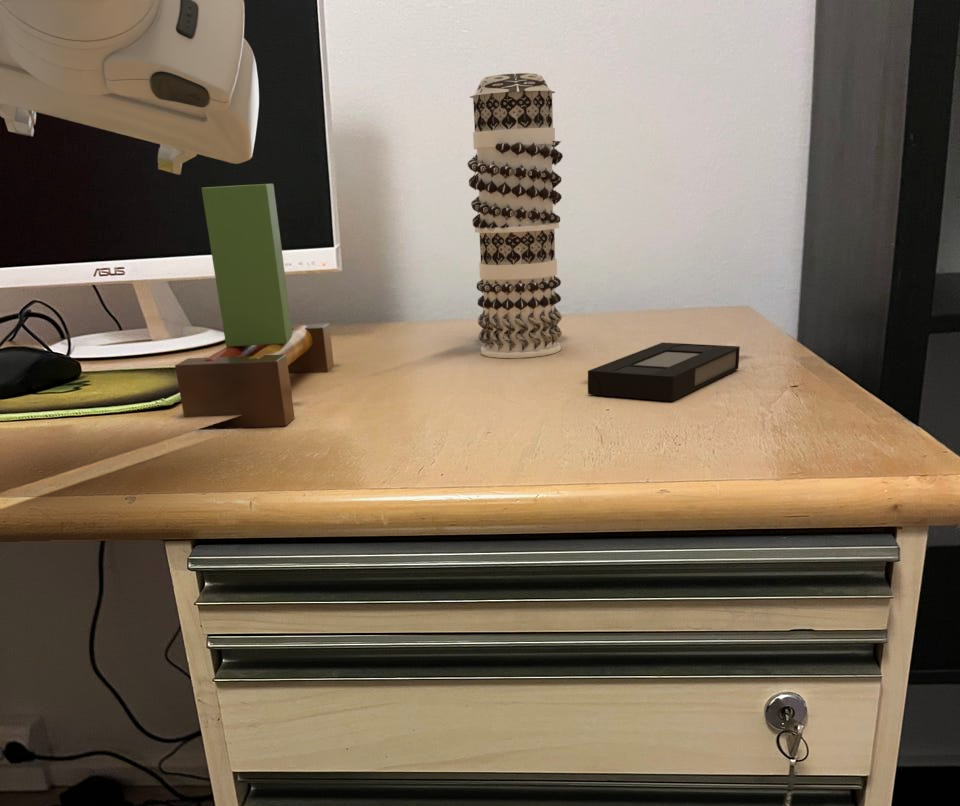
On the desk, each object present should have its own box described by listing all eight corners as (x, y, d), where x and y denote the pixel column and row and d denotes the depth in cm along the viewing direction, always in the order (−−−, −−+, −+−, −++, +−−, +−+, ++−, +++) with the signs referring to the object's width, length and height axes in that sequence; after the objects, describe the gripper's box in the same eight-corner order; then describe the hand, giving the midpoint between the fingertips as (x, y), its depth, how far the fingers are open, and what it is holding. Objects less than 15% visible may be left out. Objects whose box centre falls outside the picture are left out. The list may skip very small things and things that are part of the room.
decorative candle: (581, 345, 104) (579, 73, 93) (535, 360, 97) (528, 68, 86) (508, 341, 109) (498, 82, 98) (459, 355, 102) (443, 78, 91)
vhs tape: (739, 369, 88) (740, 346, 87) (671, 402, 78) (672, 376, 77) (661, 364, 92) (662, 342, 91) (587, 395, 82) (587, 370, 81)
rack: (186, 430, 77) (174, 363, 75) (253, 380, 95) (245, 325, 93) (286, 426, 77) (277, 359, 75) (335, 376, 95) (329, 321, 93)
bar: (226, 347, 81) (201, 187, 76) (235, 338, 86) (212, 186, 81) (286, 343, 82) (266, 184, 77) (292, 334, 86) (273, 183, 81)
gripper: (-152, -9, 50) (-81, 145, 63) (257, 105, 56) (244, 225, 69) (-130, -120, 51) (-64, 55, 64) (272, 3, 56) (256, 141, 70)
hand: (98, 144), depth 66 cm, fingers open, 8 cm apart
